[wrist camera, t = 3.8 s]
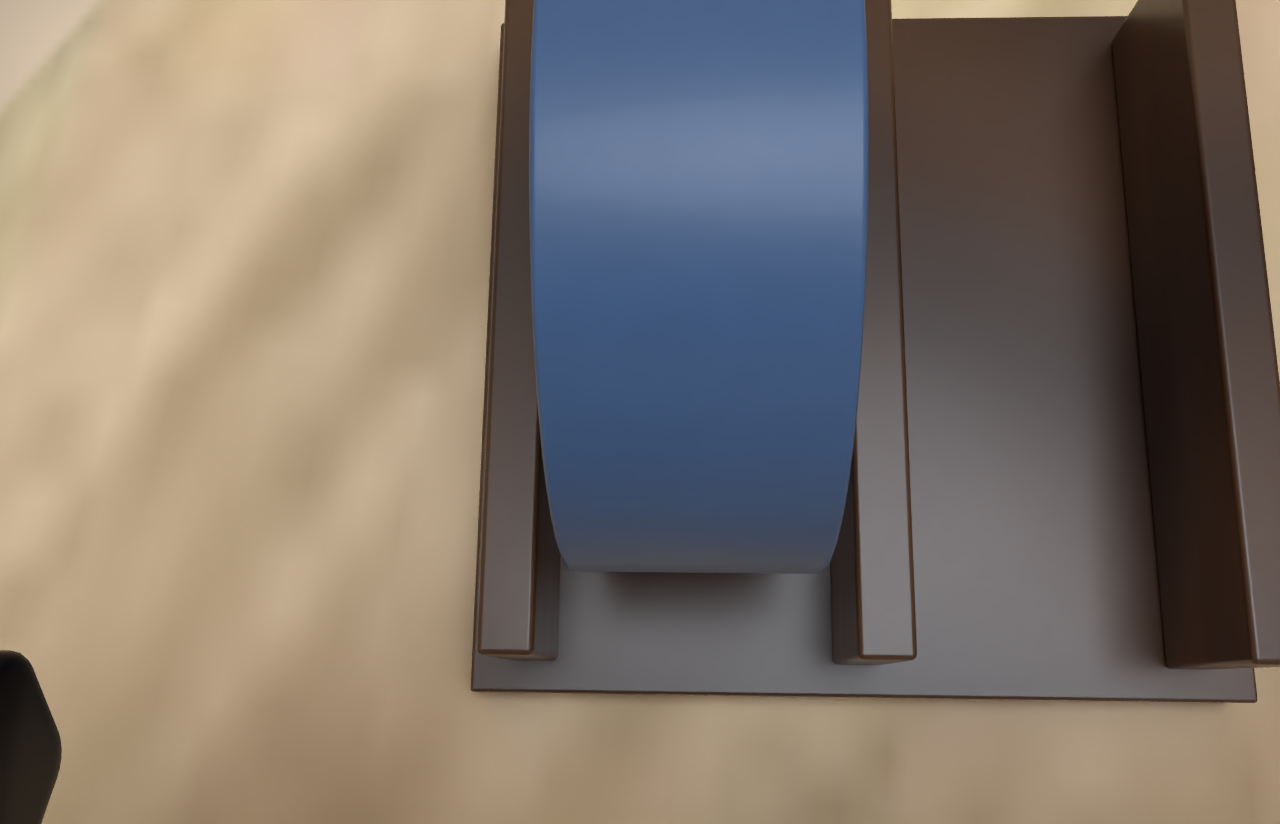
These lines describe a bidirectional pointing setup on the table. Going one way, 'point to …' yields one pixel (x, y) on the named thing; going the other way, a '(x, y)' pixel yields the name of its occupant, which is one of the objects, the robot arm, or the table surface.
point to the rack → (969, 398)
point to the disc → (698, 277)
